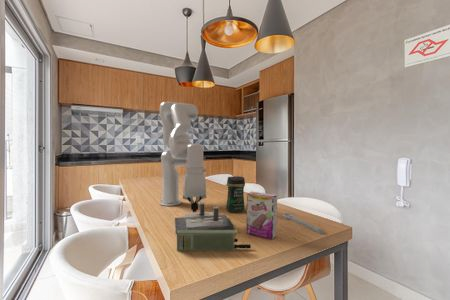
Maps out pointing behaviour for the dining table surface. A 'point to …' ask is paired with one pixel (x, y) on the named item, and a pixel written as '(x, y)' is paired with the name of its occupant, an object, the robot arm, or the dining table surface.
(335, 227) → the dining table surface
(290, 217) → the adjustable wrench
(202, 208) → the handle
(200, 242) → the handheld radio
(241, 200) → the coffee jar
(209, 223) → the breaker panel
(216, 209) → the handle
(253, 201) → the candy bar box
